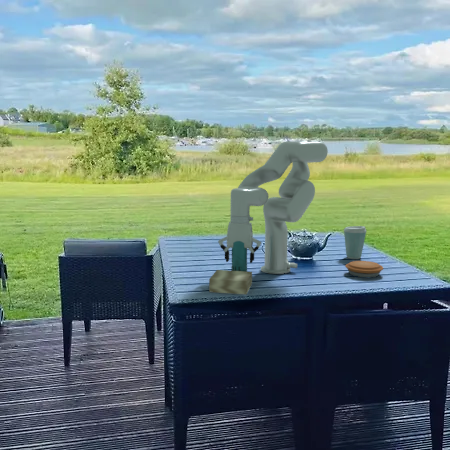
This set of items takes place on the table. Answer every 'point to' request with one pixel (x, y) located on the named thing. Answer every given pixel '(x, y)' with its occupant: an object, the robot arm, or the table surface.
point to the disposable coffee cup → (354, 241)
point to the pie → (364, 268)
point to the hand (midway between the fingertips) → (239, 261)
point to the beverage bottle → (239, 257)
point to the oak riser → (230, 282)
